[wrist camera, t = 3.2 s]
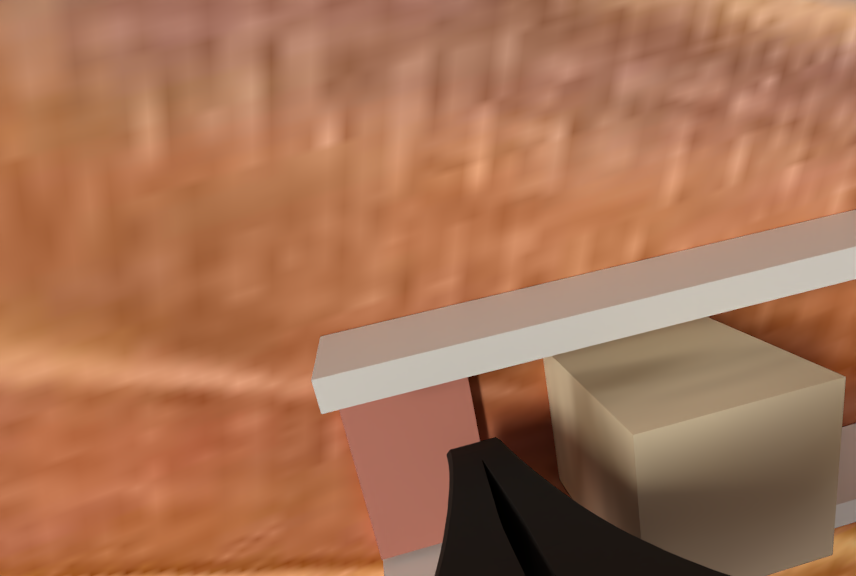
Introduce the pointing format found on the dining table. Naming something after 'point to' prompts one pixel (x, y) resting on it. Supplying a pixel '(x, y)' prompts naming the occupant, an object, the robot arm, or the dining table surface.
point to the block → (702, 444)
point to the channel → (586, 326)
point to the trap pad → (409, 460)
